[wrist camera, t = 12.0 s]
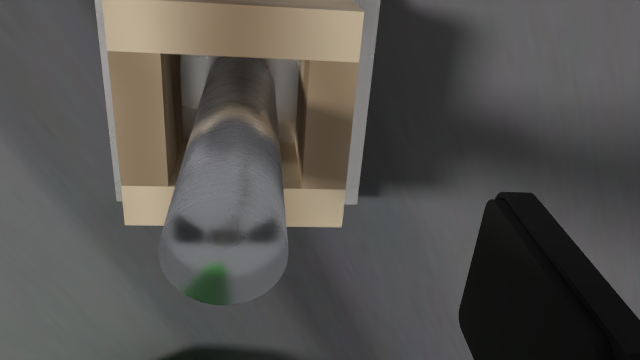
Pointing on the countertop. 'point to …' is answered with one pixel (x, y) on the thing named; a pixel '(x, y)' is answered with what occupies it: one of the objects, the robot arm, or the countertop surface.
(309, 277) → the countertop surface
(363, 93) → the post
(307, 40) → the light brown square frame
